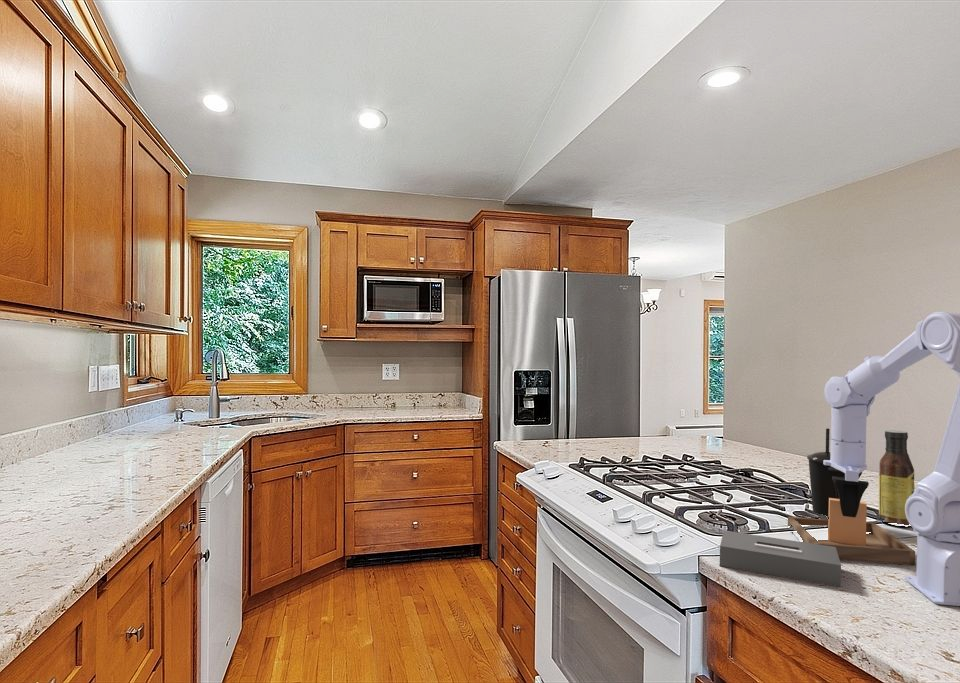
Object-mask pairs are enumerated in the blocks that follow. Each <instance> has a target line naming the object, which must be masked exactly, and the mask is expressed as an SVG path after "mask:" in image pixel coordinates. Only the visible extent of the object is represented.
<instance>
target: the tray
mask: <svg viewBox="0 0 960 683" xmlns="http://www.w3.org/2000/svg"><path fill="white" fill-rule="evenodd" d="M797 521H798V522H799V523H800V524H801V525H828V522H829V519H815V518H813V517H798V516H787V527H788V526H790V525H792V526H793V527H794V528H795V530H796V531H797V533H798V534H799V535H800V537H801V538H802V540H803V542H805V543H812V544H818V545H825V546H832V547H836V550H837V553H838V556H839V560H840V561H853V562H867V563H879V564H894V565H904V566H915V565H916V550H914V549H913V548H912V547H910V546H909V545H907V544H906V543H904V542H902V541H901V540H899V539H898V537H897V538H896V537H895V536H894V535H893V534H891V533H889V532H888V531H887V530H885V529H884V528H882V527H881V526H880V525H878V524H877V523H875V522H873V521H872V522H871V521H866V532H871V533H869V534H866V546H860V545H853V544H846V543H839V542H832V541H829V540H818V541H817V540H816V539H815V538H814V537H812V536H811V535H810V534H809V533H808V532H807V531H806V530H805V529H804V528H803V527H802V526H801V525H800V524H799V523H798V522H797Z"/></svg>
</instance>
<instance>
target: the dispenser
mask: <svg viewBox="0 0 960 683" xmlns="http://www.w3.org/2000/svg"><path fill="white" fill-rule="evenodd" d="M719 566H720V567H725V568H730V569H734V570H735V569H736V570H741V571H747V572H753V573H758V574H763V575H764V574H765V575H771V576H776V577H782V578H787V579H793V580H798V581H804V582H811V583H817V584H821V585H828V586H833V587H838V588H839V587H840V588H841V585H842V583H841V582H842V581H841V580H842V564H841V560H840V559H839V556H838V553H837V550H836V547H832V546H825V545H818V544H812V543H805V542H800V541H799V540H798V541H797V540H791V539H783V538H777V537H771V536H763V535H759V534H758V535H757V534H750V533H743V532H737V531H732V530H731V531H730V530H723V532H722V536H721V540H720V545H719Z"/></svg>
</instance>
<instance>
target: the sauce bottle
mask: <svg viewBox="0 0 960 683" xmlns="http://www.w3.org/2000/svg"><path fill="white" fill-rule="evenodd" d="M884 438H885V453H884V454H883V455H882V457H881V458H880V460H879V466H878V467H879V473H878V514H879V516H880V515H881V516H882V518H883V519H884V520H885V521H888V522H891V523H897V524H904V525H909V522H908V520H907V518H906V514H905V504H906V501H907V499H908V498H909V497H910V496H911V495H912V494H913V493H914V491H915V488H916V485H915V468H914V466H913V464H912V460H911V458H910V455H909V453H908V443H907V442H908V441H907V440H908V438H909V434H908V432H907V431H904V430H894V429H891V430H887V429H886V430H885V431H884Z"/></svg>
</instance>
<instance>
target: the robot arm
mask: <svg viewBox="0 0 960 683" xmlns="http://www.w3.org/2000/svg"><path fill="white" fill-rule="evenodd" d="M932 354H933V355H934V356H936V357H937V359H939V360H941V361H942V362H943V363H944V364H945V365H947V366H948V368H950V369H951V370H953V371H954V372H955V374H957V376H958V377H959V378H960V312H948V311H935V312H932V313H931V314H929V315H927V316H926V318H924V319H922V320H921V321H919V322H917V323H916V325H915V330H914V331H913V332H911V333H910V334H909V335H908V336H907V337H906V338H904V340H902V341H901V342H900V343H898V344H897V345H896V346H895V347H894V348H892V349H891V350H890V351H888V352H887V353H885V355H883V356H882V355H868V356H866V357H865V358H863V361H864V362H862V363H861V364H859V365H858V366H856V367H855V368H854V369H850V370H848V371H847V373H846V374H845V375H844V376H831V377H830V378H829V380H827V381H826V383H825V386H824V391H823V392H824V393H823V394H824V398H825V400H826V402H827V404H828V405H830V406H831V407H830V408H831V409H830V410H831V412H830V413H831V416H830V452H831V455H830V460H823V464H824V465H828V466H831V467H830V468H828V469H829V471H830V473H831V475H832V479H833V481H834V485H835V490H836V497H837V499H839V500H840V507H841V512H842V515H843V516H847V517H856V515H857V512H858V509H859V504H860V502H862V498H863V495H864V493H865V492H866V490H867V489H868V487H869V485H870V482H869V481H865V480H859V479H860V477H861V476H862V474H863V472H864V471H866V470H867V468H868V467H867V466H868V465H867V463H866V460H867V459H866V458H867V456H866V455H867V453H866V452H867V447H866V446H867V417H869V415H870V414H871V412H870V411H871V406H872V405H873V404H874V403H875V399H876V395H878V394H880V393H881V392H883V391H884V390H886V389H888V388H890V387H891V386H893V385H894V384H896V383H897V382H898V381H899V380H900V377H901V374H900V372H901V371H903V370H905V369H907V368H910V366H913V365H914V364H916V363H918V362H919V361H922V360H923V359H926V357H929V356H930V355H932ZM947 420H948V421H947V425H946V427H945V432H944V435H943V438H942V442H941V445H940V449H939V453H938V455H937V459H936V462H935V466H934V469H933V472H931V473H930V474H928V476H926V477H923V479H921V480H920V481H918V482H917V484H916V485H915V488H914V493H913V494H912V495H911V496H910V497H909V498H908V499H907V501H906V504H905V514H906V518H907V520H908V522H909V524H910V525H911V527H912V529H913V532H914V533H916V535H917V536H916V538H917V539H916V570H915V571H916V576H914V575H913V576H911V575H905V576H904V580H905V581H906V582H908V583H909V584H910V585H912V586H913V587H914V588H915V589H917V590H918V592H920V593H921V594H922V595H924V596H925V597H927V598H928V599H929V600H930V601H931V602H933V603H934V604H936V605H946V606H957V607H960V381H959V382H958V386H957V390H956V392H955V397H954V400H953V404H952V407H951V411H950V414H949V418H948V419H947Z"/></svg>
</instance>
